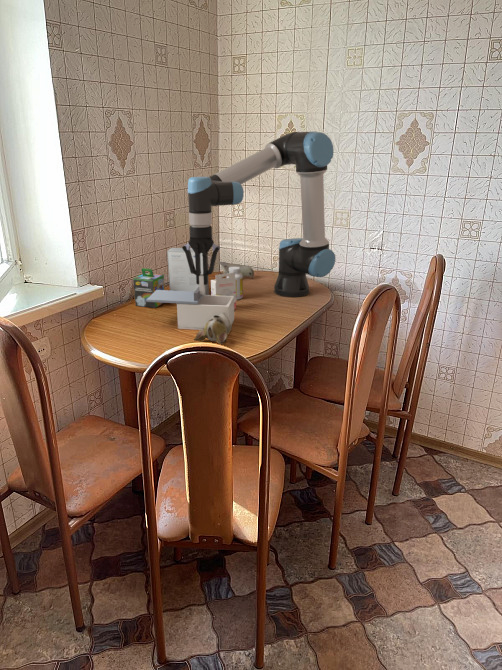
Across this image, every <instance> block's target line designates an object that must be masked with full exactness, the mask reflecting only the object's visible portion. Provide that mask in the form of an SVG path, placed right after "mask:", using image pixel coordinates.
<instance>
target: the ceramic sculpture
mask: <svg viewBox="0 0 502 670" xmlns="http://www.w3.org/2000/svg"><path fill="white" fill-rule="evenodd" d="M231 330H232V325H231V323H230V321H229V319H228V317H227V316H226V315H225V313H224V312H223V313H222V314H220V315H218V316H217V315H215V316H213V317H212V318H211V320H209V321H208V322H207V323H206V325H205V327H204V329H202V330H198V331H197V333H196V335H195V337H194V338H193V340H194V341H195V342H202V341H205V340H206V339H207V340H208V341H211V342H217V343H218V344H220V345H222V344H224V343H226V342H227V340H228V335H229V333H230V331H231Z"/></svg>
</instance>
